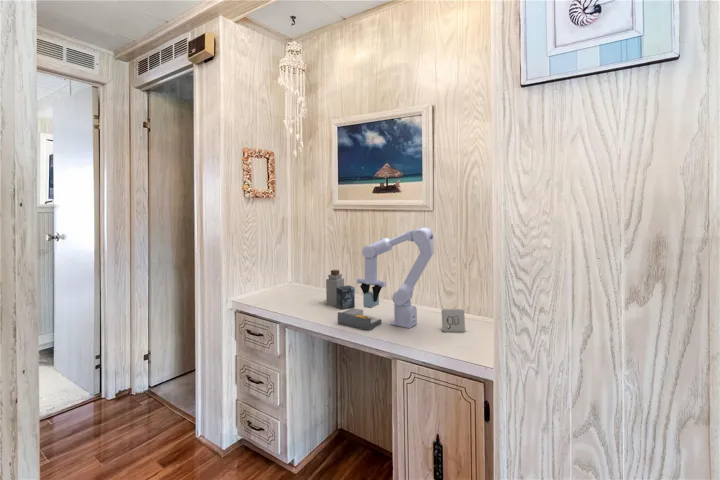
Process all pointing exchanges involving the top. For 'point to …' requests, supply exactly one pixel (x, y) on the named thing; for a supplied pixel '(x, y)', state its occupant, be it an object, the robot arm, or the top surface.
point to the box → (345, 297)
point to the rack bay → (357, 319)
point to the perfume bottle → (333, 287)
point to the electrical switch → (453, 320)
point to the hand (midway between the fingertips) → (371, 300)
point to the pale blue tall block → (369, 300)
